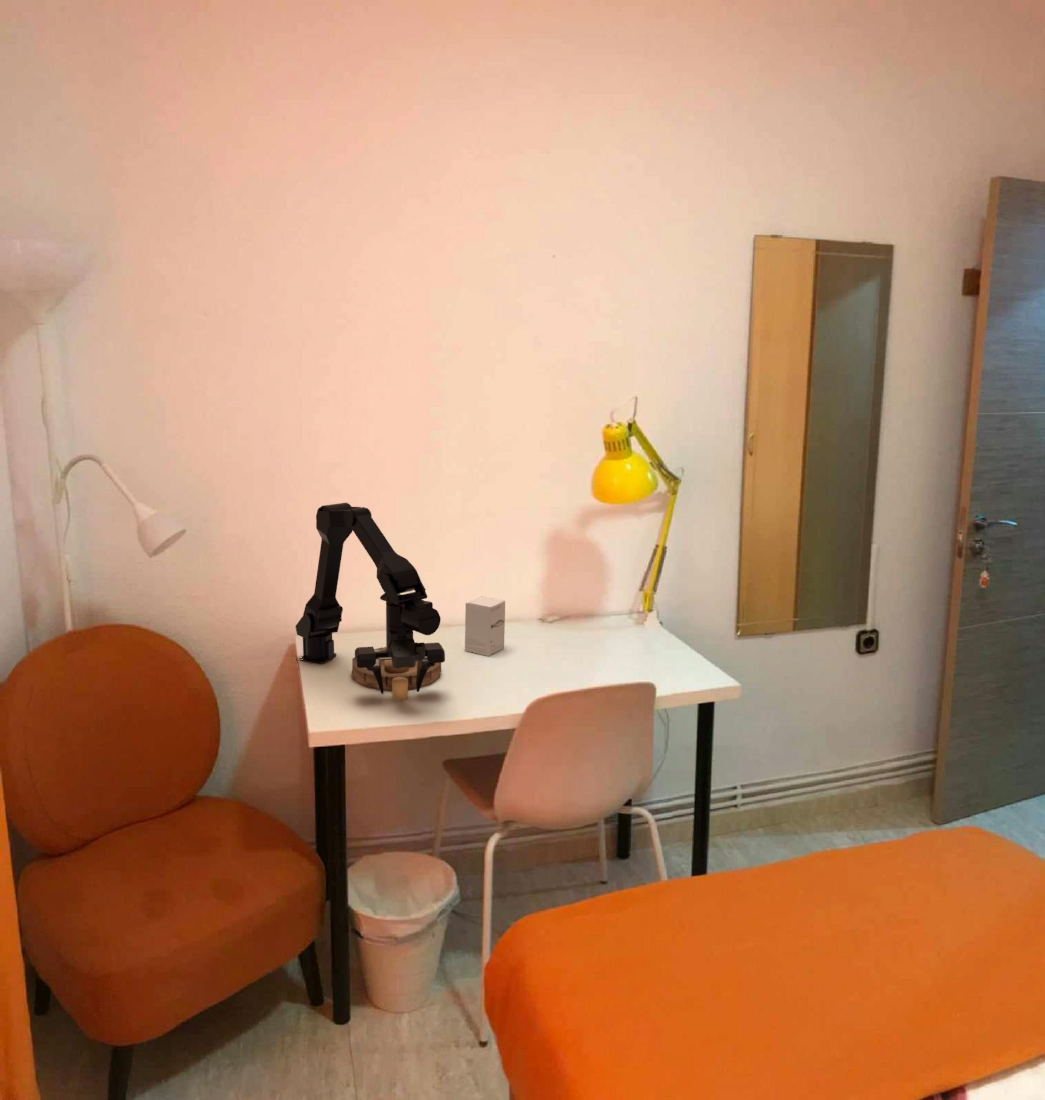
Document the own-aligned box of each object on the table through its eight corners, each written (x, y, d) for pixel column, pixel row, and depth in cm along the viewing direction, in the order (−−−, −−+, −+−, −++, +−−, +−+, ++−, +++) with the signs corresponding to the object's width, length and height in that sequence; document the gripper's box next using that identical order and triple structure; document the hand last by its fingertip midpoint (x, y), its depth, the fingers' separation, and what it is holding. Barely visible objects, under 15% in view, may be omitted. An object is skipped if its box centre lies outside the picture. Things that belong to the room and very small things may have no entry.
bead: (389, 698, 214) (389, 681, 213) (396, 693, 217) (396, 676, 216) (403, 701, 213) (403, 683, 212) (410, 695, 216) (410, 678, 215)
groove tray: (336, 682, 223) (335, 668, 222) (378, 654, 241) (378, 642, 240) (416, 695, 216) (416, 682, 215) (454, 666, 234) (454, 653, 234)
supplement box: (489, 657, 242) (489, 607, 239) (463, 651, 245) (464, 602, 242) (505, 648, 248) (506, 600, 245) (480, 643, 251) (481, 595, 248)
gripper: (359, 638, 201) (360, 710, 205) (450, 632, 206) (449, 703, 210) (353, 621, 212) (355, 690, 215) (440, 616, 217) (440, 684, 220)
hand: (400, 692), depth 215 cm, fingers open, 7 cm apart
